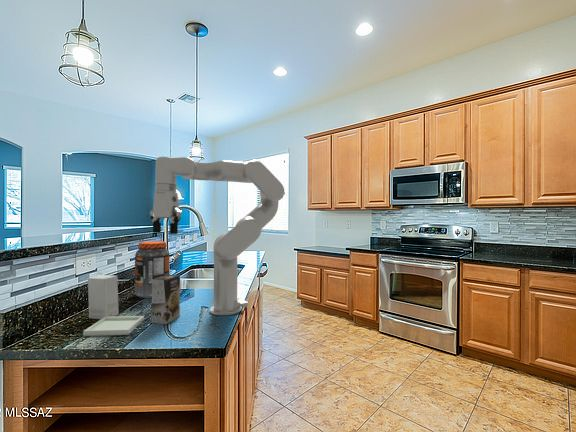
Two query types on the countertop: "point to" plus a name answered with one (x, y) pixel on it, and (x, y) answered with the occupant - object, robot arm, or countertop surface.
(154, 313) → the coffee box
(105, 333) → the tray
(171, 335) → the countertop surface
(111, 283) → the skincare box
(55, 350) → the countertop surface
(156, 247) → the supplement tub
